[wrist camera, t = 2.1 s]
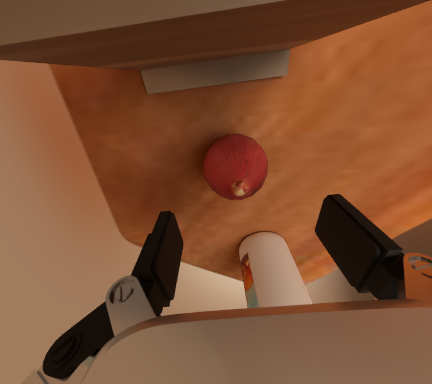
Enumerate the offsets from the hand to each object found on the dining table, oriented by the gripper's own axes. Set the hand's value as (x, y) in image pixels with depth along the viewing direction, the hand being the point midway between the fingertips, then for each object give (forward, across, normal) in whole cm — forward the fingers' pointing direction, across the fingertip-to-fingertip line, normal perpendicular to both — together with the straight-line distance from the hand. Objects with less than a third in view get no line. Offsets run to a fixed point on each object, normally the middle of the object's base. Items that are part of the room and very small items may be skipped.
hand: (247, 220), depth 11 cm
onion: (+10, 0, -1) cm, 10 cm away
